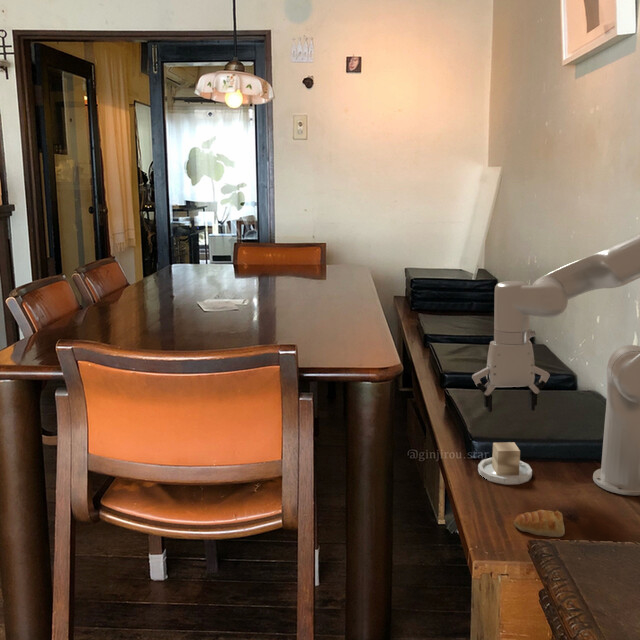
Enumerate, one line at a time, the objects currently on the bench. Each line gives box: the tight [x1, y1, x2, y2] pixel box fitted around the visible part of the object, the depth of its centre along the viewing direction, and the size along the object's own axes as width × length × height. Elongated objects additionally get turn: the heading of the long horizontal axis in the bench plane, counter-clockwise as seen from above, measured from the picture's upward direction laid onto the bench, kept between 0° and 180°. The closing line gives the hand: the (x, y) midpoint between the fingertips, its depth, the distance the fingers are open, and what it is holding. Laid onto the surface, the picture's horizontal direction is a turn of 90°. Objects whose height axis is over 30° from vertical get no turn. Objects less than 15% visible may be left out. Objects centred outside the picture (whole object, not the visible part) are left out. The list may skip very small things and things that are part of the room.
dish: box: [477, 457, 533, 486], centre depth 161 cm, size 12×12×1 cm
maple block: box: [492, 441, 521, 476], centre depth 161 cm, size 5×5×6 cm
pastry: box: [513, 509, 565, 538], centre depth 137 cm, size 9×7×4 cm
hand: (510, 409), depth 158 cm, fingers open, 9 cm apart
